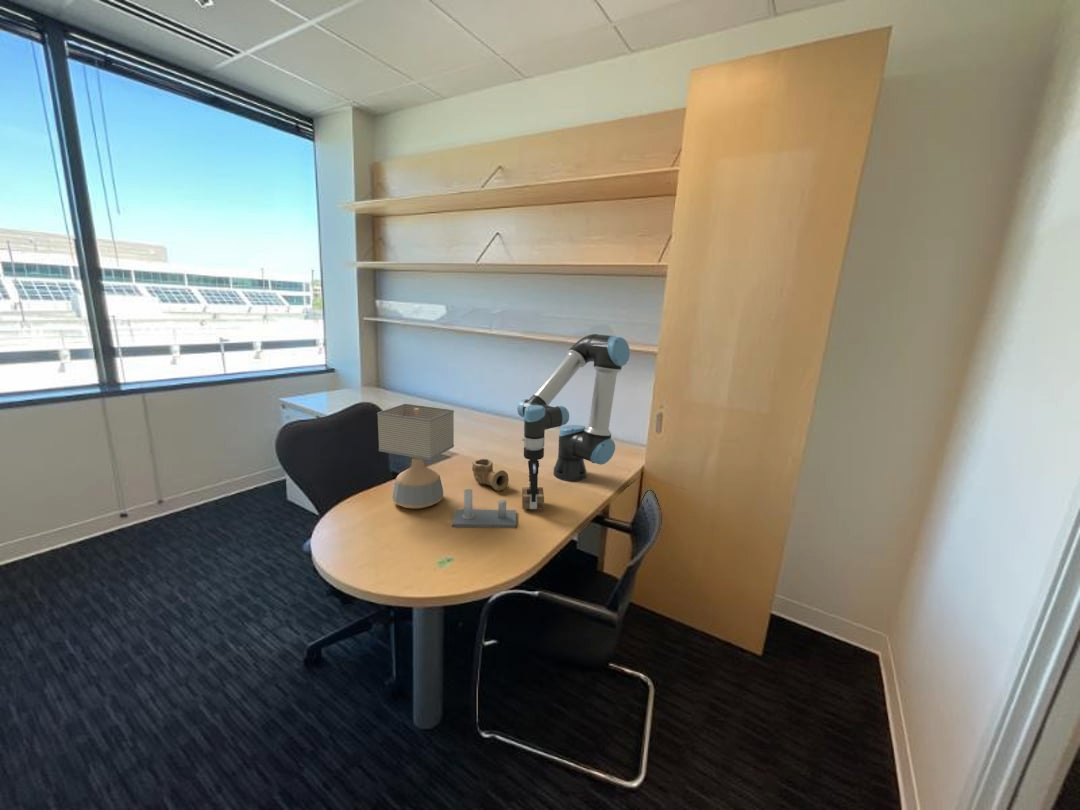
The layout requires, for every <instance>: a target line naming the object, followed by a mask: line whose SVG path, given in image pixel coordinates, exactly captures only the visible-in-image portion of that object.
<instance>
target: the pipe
mask: <svg viewBox="0 0 1080 810" xmlns="http://www.w3.org/2000/svg"><path fill="white" fill-rule="evenodd" d="M471 469H472V472H473V477H474V480H475V482H477V483H479V484H480V485H488V486H490V487H492V488H493V489H494V490H495V491H503V490H505V489H507V488H508V486H509V474H508V473H507V471H505V470H502V469H500V470H499V471H496V472H495V471H494V468H493V460H491V459H489V458H480V459H479V460H473V462H472V467H471Z"/></svg>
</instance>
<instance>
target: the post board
mask: <svg viewBox="0 0 1080 810" xmlns="http://www.w3.org/2000/svg"><path fill="white" fill-rule="evenodd" d="M463 499H464V500H463V501H464V505H463V507H464V509H461V508H460V509H459V508H458V509H457V508H456V509H455V512H454V515H453V519H452V523H451V527H452V528H454V527H455V528H517V510H516V509H507V500H505V499H499V500H498V503H497V504H498V505H497V507H498V508H497V509H473V489H471V488H466V489H464V496H463Z"/></svg>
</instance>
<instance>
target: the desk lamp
mask: <svg viewBox="0 0 1080 810" xmlns="http://www.w3.org/2000/svg"><path fill="white" fill-rule="evenodd" d="M454 411H455V410H454V409H450V408H449V409H447V408H440V407H434V406H432V407H431V406H424V405H417V404H410V403H402V404H400V405H397V406H393V407H390V408H388V409H384V410H381V411H378V412H377V413H376V414H377V428H378V429H377V431H378V432H377V433H378V452H380V453H381V452H383V453H387V454H393V455H397V456H398V455H399V456H404V457H405V456H406V457H411V458H412V459H411V465H410V467H409V468H406V469H405V470H403V471H402V472H400V473H399V474H398V475H397V476H396V477H395V482H394V486H393V492H392V501H393V503H395V505H397V506H401V507H402V508H406V509H410V510H411V509H412V510H413V509H414V510H418V509H419V510H420V509H425V508H428V507H431V506H433V505H435V504H437V503H439V502H440V501H441V500H442V499H443V498H444V488H443V483H442V480H441V476H440V474H439V472H437V471H436V470H433V469H432V468H429V467H427V466H425V463H424V462H425V461H424V460H426V461H427V460H428V461H431V460H434V459H435V458H437V457H439V456H440V455H442V454H444V453H446V452H448V451H449V450H451V449H453V448H454V447H455V445H454V443H455V442H454V438H455V436H454V432H455V431H454V430H455V429H454V426H455V425H454V423H455V422H454V420H455V419H454Z"/></svg>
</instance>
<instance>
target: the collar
mask: <svg viewBox="0 0 1080 810" xmlns="http://www.w3.org/2000/svg"><path fill="white" fill-rule="evenodd" d="M521 489H522V490H521V505H522V507H521V508H522V509H524V510H525V509H526V510H531V509H530V494H528V492H530V487H529V486H526V487H525V486H524V487H521ZM537 492H538V494H537V509H536V510H541V509H543V510H544V509H545V506H544V505H545V493H544V487H541V486H537Z"/></svg>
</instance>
